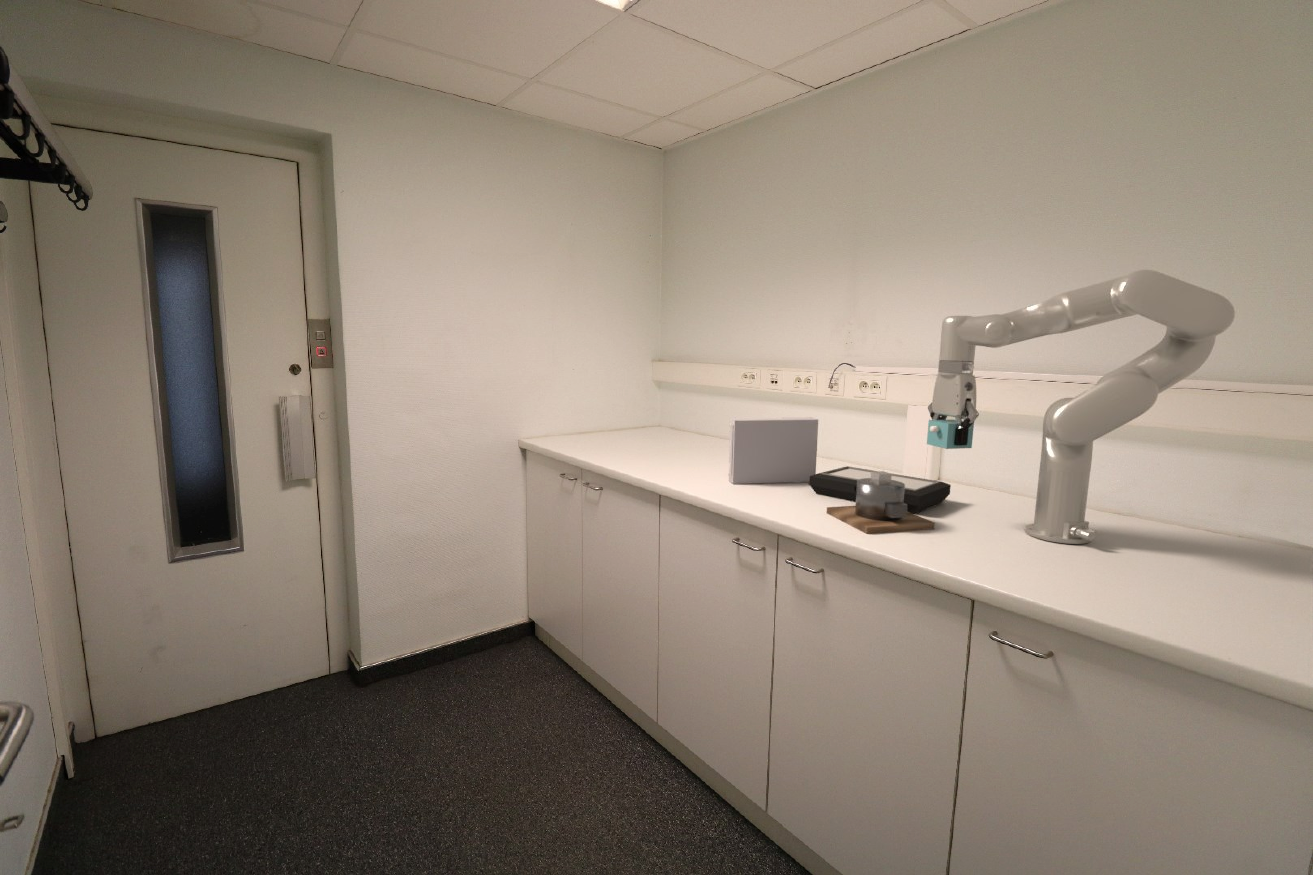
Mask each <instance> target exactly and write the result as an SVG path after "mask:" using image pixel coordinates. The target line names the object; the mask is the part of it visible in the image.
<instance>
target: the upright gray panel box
mask: <svg viewBox="0 0 1313 875" xmlns="http://www.w3.org/2000/svg"><path fill="white" fill-rule="evenodd" d="M729 421H730V422H729V423H730V424H729V428H730V429H729V457H728V460H729V462H728V463H729V468H728V481H729V483H731V484H733V485H743V484H747V485H748V484H750V485H751V484H774V483H775V484H779V483H808V482H809V480H810V476H812V475H815V474H817V455H818V438H819V437H818V434H819V433H818V432H819V419H818V418H814V417H782V418H781V417H779V418H778V417H776V418H772V417H771V418H769V417H768V418H736V417H735V418H734V417H732V418H730V420H729Z"/></svg>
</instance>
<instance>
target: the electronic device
mask: <svg viewBox="0 0 1313 875" xmlns="http://www.w3.org/2000/svg"><path fill="white" fill-rule="evenodd" d="M877 471H878V470H872V469H868V468H859V467H856V466H855V467H852V466H842V467H838V468H836V469H831V470H826V471H823V472H819V473H816V474H815V475H812V476H810V480H809V483H808V484H809V486H810V488H811V489H812V490H813V491H814V493H815V494H816V495H820V496H821V495H822V496H826V497H830V498H834V499H840V500H844V501H850V502H854V503H856V490H857V480H859V479H864V478H871V472H877ZM890 474H892V477H891V480H895V481H899V482H902V483H904V484H905V490H904V503H905V504H907V505H908V506H907V512H910V513H912V514H915V515H917V514H918V513H921V512H924V511H926V510H927V509H931V508H933V507H935V505H936V506H938V505H941V504H942V503H943V502H944V501H945V500H946V499H947V498H948V497H949V495H951V486H952V485H951V484H950V483H947V482H944V481H939V480H932V479H927V478H921V477H915V476H908V475H902V474H895V473H891V472H890Z"/></svg>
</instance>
